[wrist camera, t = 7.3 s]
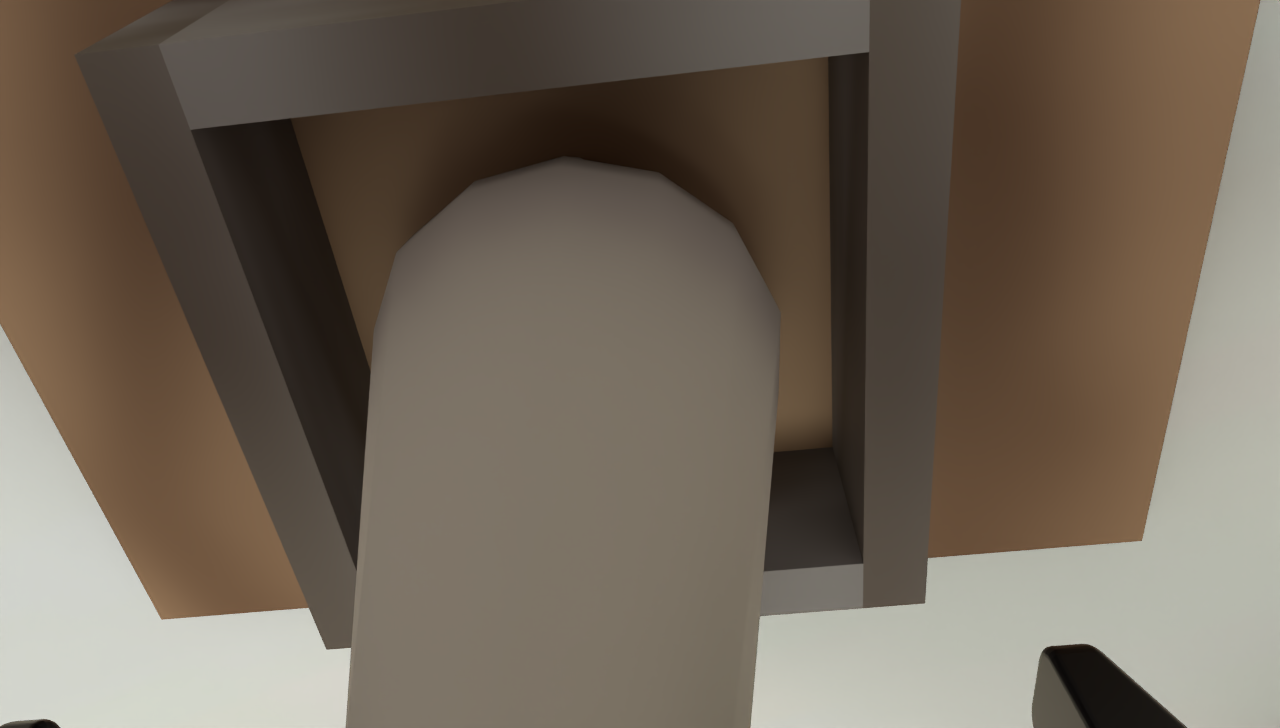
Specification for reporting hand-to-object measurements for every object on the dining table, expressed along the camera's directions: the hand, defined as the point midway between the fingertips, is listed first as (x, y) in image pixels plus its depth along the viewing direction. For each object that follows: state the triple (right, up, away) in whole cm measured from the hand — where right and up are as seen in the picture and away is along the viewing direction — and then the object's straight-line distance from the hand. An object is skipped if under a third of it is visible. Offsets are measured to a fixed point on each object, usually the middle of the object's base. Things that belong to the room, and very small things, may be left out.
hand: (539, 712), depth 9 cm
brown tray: (0, +5, +8) cm, 9 cm away
